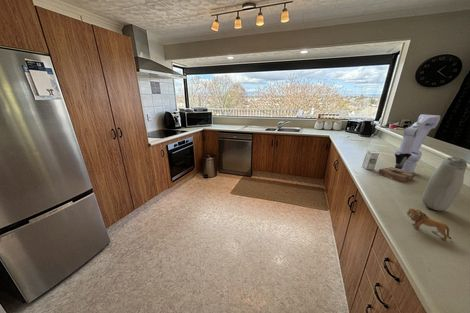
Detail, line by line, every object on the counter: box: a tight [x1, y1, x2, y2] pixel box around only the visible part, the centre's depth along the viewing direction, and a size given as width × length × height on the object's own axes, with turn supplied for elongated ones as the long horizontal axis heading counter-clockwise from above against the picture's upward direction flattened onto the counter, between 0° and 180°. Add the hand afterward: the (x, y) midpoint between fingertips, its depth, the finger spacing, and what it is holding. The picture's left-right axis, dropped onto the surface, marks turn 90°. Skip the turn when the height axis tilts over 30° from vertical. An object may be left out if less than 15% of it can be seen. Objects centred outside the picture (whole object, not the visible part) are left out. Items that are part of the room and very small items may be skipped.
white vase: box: [421, 156, 468, 211], centre depth 84 cm, size 10×10×28 cm
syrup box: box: [361, 150, 380, 171], centre depth 135 cm, size 6×6×14 cm
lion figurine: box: [406, 207, 452, 241], centre depth 72 cm, size 15×5×9 cm, turn 51°
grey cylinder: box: [394, 156, 407, 169], centre depth 120 cm, size 4×4×9 cm
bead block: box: [377, 166, 415, 183], centre depth 124 cm, size 14×14×4 cm
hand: (399, 163), depth 121 cm, fingers closed on grey cylinder, 4 cm apart
